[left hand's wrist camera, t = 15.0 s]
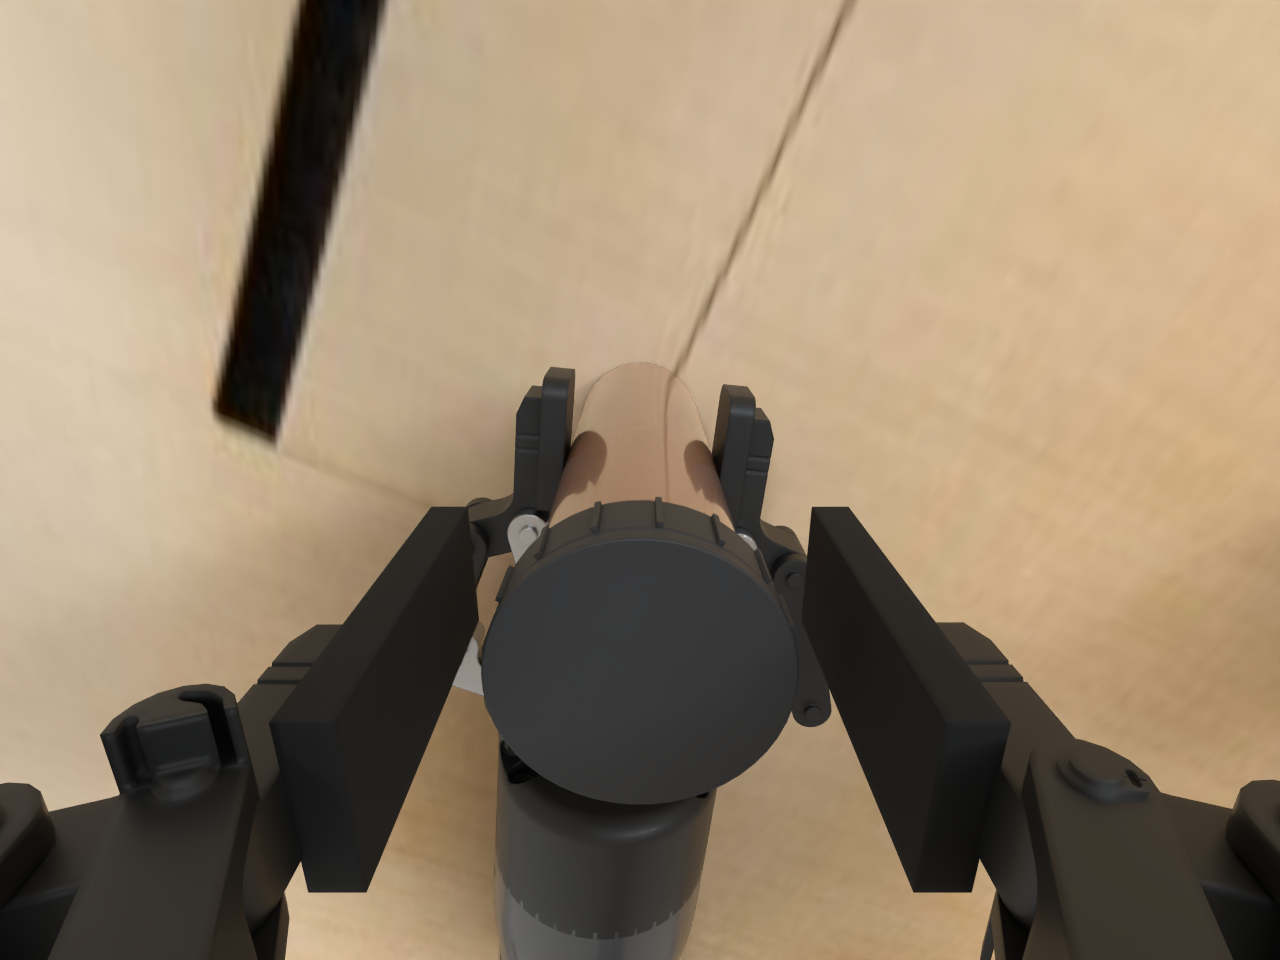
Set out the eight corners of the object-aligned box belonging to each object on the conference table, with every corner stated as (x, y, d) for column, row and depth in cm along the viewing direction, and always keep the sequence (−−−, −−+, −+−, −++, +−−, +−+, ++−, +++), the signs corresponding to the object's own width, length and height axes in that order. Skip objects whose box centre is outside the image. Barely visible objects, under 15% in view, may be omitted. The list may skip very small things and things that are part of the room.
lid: (782, 484, 11) (802, 523, 10) (783, 733, 13) (801, 798, 11) (476, 507, 11) (451, 548, 10) (519, 750, 13) (503, 815, 12)
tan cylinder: (679, 484, 26) (724, 776, 12) (571, 458, 26) (490, 728, 12) (711, 379, 25) (804, 572, 11) (597, 349, 25) (540, 509, 10)
